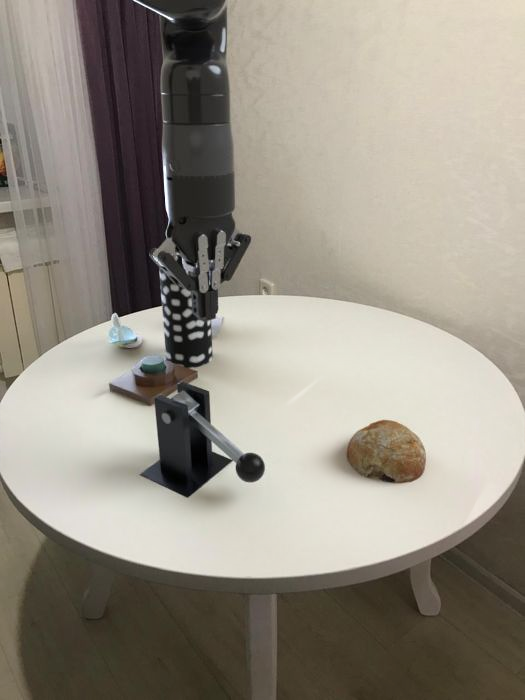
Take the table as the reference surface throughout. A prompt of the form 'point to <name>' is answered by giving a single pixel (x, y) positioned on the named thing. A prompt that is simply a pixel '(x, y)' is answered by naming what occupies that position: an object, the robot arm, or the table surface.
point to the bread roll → (387, 452)
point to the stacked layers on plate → (216, 325)
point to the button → (152, 364)
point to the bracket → (183, 445)
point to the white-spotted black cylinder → (183, 326)
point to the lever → (224, 442)
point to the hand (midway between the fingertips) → (205, 318)
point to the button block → (152, 382)
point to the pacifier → (122, 334)
